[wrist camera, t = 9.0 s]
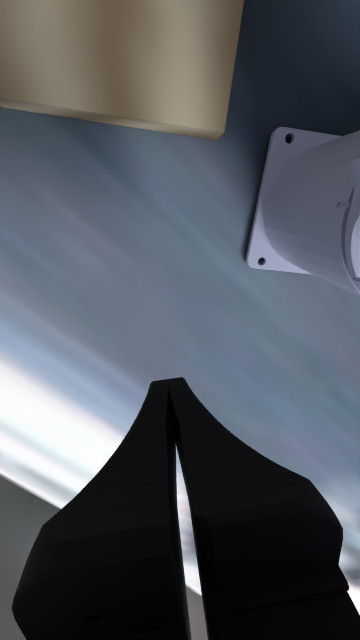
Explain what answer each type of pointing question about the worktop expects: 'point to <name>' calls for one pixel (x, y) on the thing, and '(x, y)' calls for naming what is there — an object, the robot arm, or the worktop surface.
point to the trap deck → (122, 61)
